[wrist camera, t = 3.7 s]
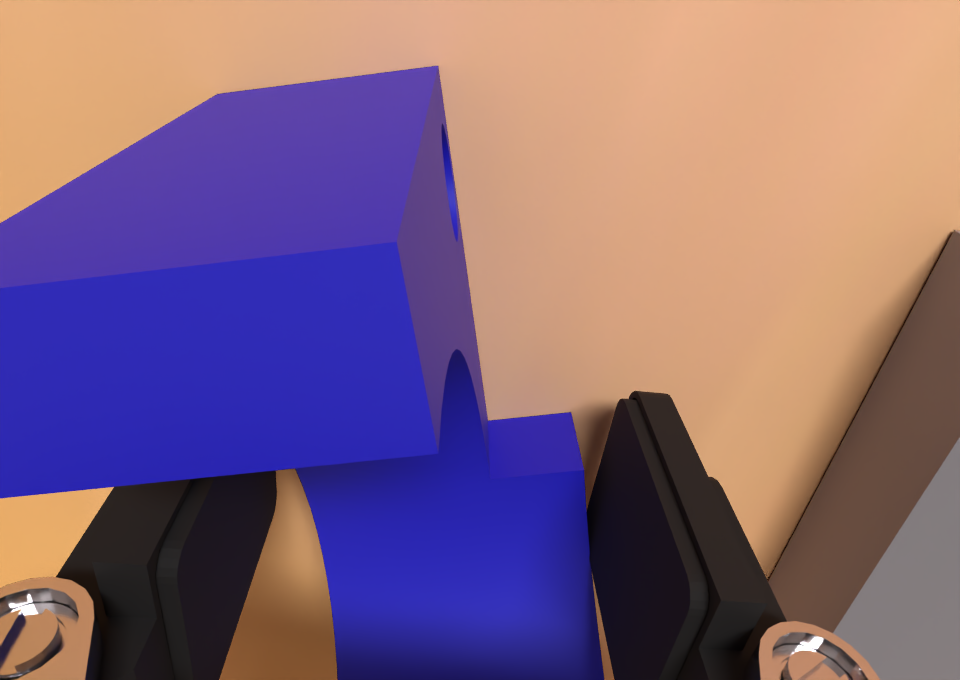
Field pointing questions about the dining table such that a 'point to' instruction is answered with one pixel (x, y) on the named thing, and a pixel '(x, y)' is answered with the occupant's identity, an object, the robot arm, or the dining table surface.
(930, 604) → the shallow rectangular tray
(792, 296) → the dining table surface
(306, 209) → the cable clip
